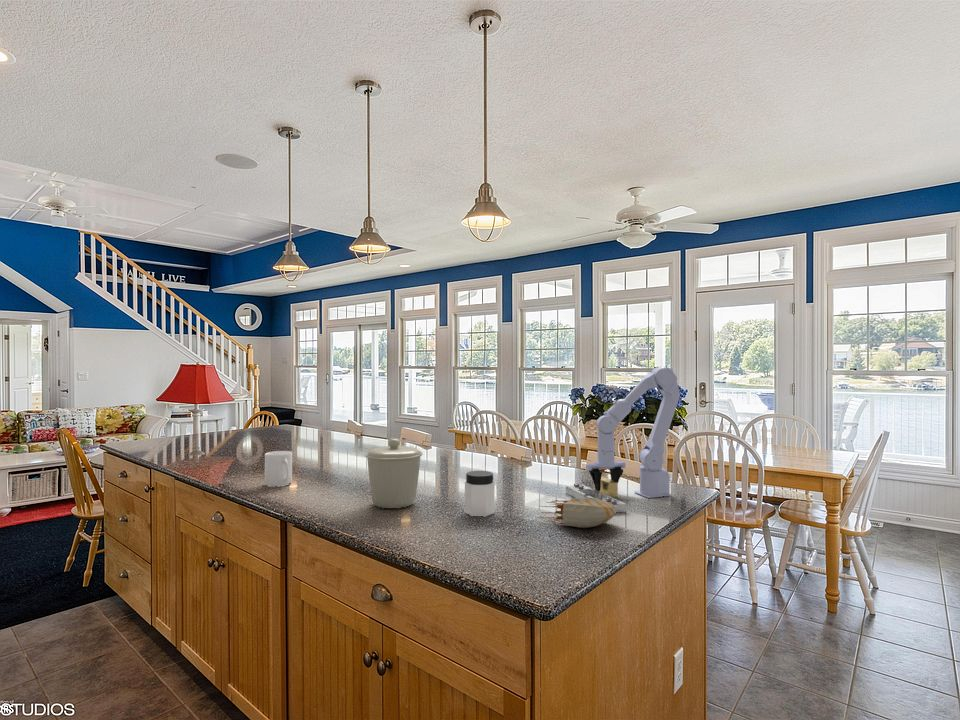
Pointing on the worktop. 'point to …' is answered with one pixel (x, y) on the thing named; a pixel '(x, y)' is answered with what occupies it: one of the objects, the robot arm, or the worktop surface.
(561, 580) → the worktop surface
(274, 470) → the mug
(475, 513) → the jar
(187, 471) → the worktop surface
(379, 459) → the canister
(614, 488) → the tan wooden block
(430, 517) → the worktop surface
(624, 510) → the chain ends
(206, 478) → the worktop surface
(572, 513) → the nautilus
